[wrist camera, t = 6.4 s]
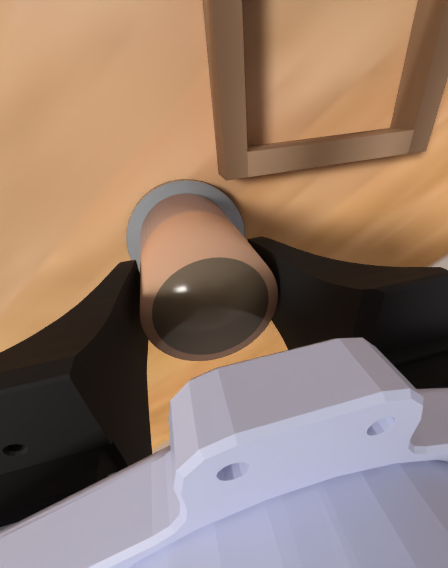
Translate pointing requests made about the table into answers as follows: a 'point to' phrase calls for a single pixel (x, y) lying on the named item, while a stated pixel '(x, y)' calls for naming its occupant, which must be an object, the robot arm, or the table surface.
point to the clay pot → (201, 281)
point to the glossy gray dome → (168, 190)
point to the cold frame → (331, 149)
